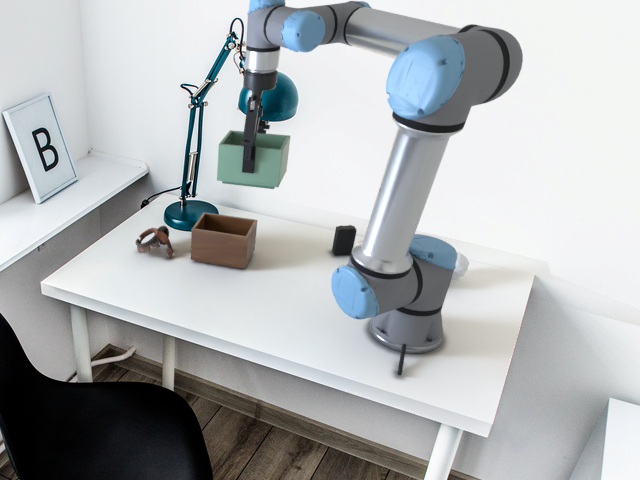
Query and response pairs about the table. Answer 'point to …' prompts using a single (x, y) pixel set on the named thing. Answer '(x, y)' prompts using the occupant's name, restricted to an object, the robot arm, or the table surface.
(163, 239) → the brown headphones
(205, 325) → the table surface
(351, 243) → the ink cartridge
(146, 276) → the table surface
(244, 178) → the box
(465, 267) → the puffin
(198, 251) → the bottom basket
